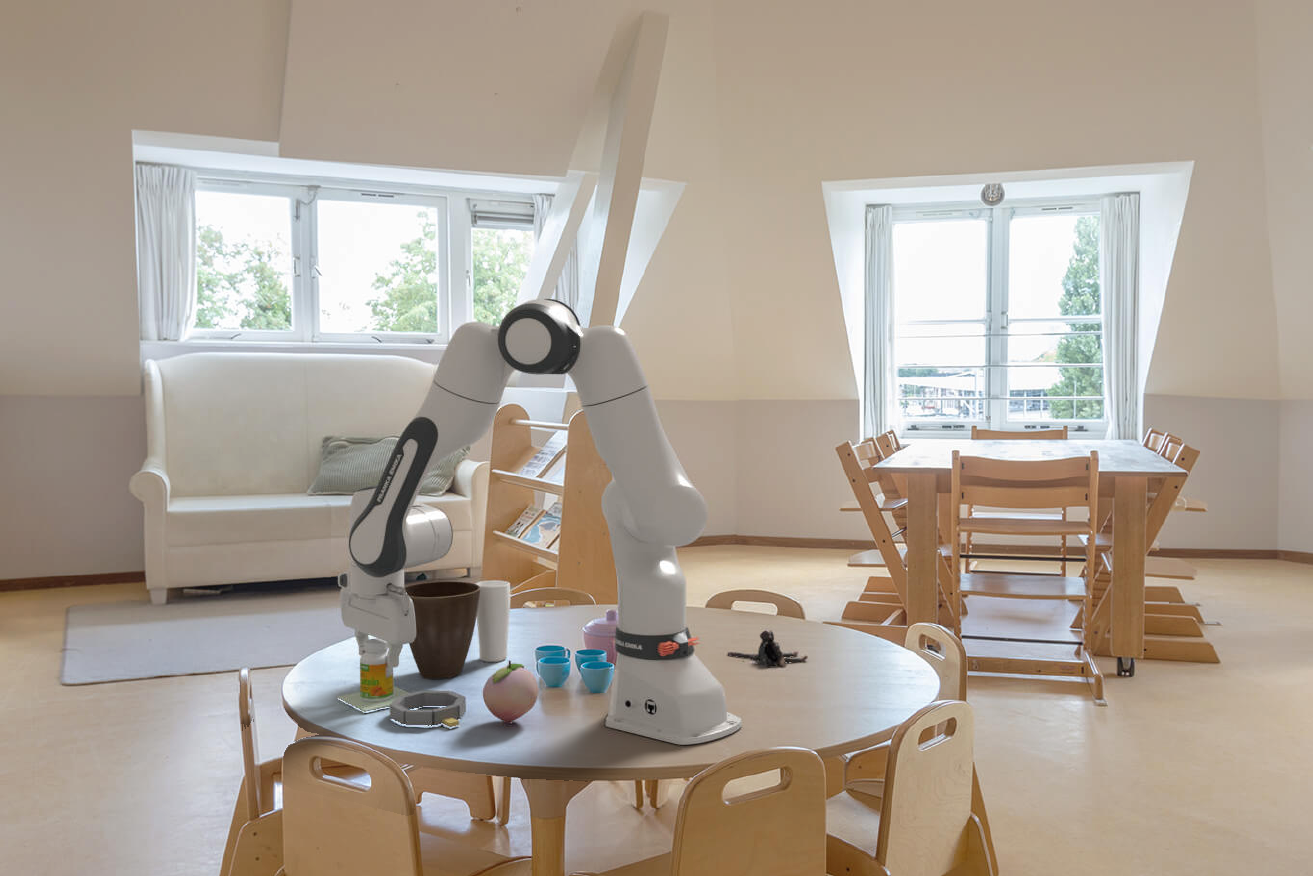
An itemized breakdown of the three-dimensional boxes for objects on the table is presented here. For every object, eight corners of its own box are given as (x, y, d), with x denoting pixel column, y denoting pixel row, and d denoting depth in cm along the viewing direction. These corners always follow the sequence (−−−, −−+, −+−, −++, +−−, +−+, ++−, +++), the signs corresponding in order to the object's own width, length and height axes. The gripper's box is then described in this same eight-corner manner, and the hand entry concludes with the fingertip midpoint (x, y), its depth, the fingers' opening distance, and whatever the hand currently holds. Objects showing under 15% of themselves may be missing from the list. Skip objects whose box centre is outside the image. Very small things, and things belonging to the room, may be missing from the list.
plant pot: (440, 690, 173) (439, 600, 173) (381, 677, 181) (380, 591, 181) (497, 670, 186) (497, 586, 185) (440, 659, 194) (439, 578, 193)
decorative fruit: (528, 734, 151) (528, 670, 150) (477, 731, 152) (476, 667, 152) (545, 715, 160) (545, 654, 160) (497, 712, 161) (496, 651, 161)
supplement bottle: (354, 701, 165) (353, 644, 165) (370, 692, 170) (370, 636, 170) (383, 704, 164) (382, 646, 164) (399, 694, 169) (398, 638, 169)
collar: (485, 720, 158) (484, 704, 157) (422, 736, 150) (422, 720, 150) (433, 698, 169) (433, 683, 169) (373, 712, 161) (373, 697, 161)
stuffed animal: (813, 661, 189) (762, 628, 187) (784, 704, 189) (733, 671, 187) (798, 645, 200) (750, 613, 199) (771, 685, 200) (723, 653, 199)
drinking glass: (514, 655, 197) (513, 580, 196) (506, 664, 190) (505, 587, 190) (481, 654, 198) (480, 579, 197) (471, 663, 191) (470, 586, 190)
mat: (419, 701, 167) (419, 697, 167) (364, 714, 161) (364, 710, 161) (391, 688, 175) (391, 685, 175) (337, 700, 168) (337, 696, 168)
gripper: (425, 586, 161) (426, 670, 162) (366, 570, 176) (368, 646, 177) (389, 591, 157) (391, 677, 158) (333, 574, 172) (334, 653, 173)
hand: (378, 661), depth 167 cm, fingers open, 8 cm apart
